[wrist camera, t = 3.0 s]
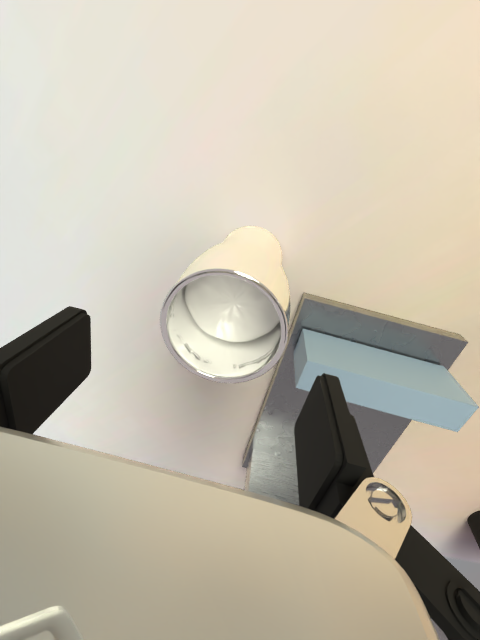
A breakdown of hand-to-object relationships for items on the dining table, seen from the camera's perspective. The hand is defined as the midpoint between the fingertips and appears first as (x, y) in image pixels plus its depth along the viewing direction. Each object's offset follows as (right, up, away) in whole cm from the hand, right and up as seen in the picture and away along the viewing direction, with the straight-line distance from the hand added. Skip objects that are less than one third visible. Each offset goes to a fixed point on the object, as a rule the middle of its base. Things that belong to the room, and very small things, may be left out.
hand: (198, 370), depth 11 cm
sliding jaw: (+14, -2, +17) cm, 23 cm away
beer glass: (+3, +8, +16) cm, 18 cm away
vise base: (+13, -8, +23) cm, 28 cm away
